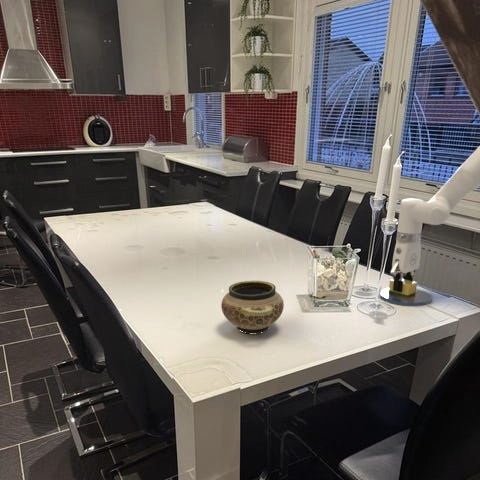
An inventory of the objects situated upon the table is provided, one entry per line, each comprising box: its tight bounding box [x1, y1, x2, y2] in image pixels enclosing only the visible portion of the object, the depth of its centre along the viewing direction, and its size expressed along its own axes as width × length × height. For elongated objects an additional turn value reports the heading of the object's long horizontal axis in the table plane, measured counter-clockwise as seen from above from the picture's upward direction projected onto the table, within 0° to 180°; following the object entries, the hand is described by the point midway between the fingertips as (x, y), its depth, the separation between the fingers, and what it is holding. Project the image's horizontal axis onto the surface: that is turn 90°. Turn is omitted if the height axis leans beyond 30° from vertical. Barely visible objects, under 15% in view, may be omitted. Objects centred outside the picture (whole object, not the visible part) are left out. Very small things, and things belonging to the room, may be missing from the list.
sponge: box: [388, 278, 418, 298], centre depth 161 cm, size 8×5×4 cm, turn 39°
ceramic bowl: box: [220, 280, 285, 334], centre depth 135 cm, size 24×18×15 cm
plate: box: [379, 287, 433, 307], centre depth 161 cm, size 17×17×1 cm
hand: (402, 289), depth 161 cm, fingers closed on sponge, 5 cm apart
